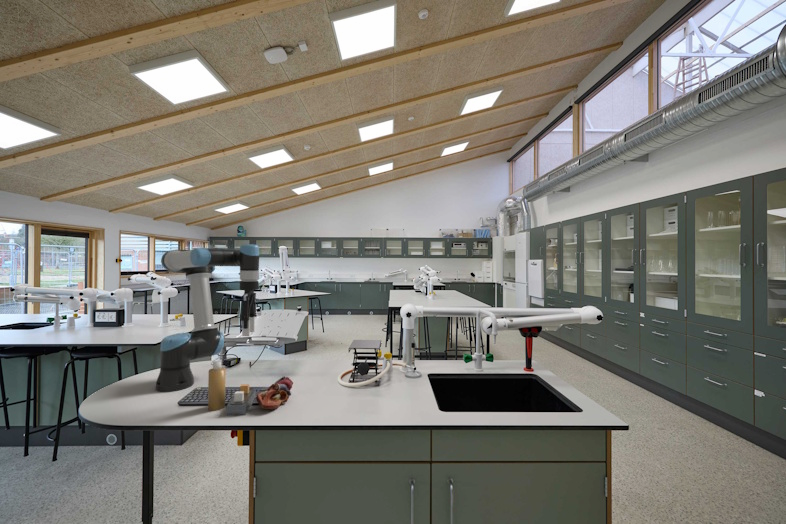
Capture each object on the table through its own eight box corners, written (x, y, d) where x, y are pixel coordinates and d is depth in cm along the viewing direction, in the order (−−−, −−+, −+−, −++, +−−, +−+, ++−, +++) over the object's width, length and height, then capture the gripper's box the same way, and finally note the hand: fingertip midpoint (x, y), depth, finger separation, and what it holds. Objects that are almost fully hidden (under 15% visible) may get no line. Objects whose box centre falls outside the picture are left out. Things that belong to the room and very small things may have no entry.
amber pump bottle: (211, 404, 141) (211, 360, 141) (227, 404, 142) (227, 359, 142) (205, 411, 135) (206, 364, 135) (222, 410, 136) (222, 364, 136)
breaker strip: (242, 393, 153) (242, 384, 153) (259, 392, 154) (259, 384, 154) (226, 415, 131) (226, 405, 131) (245, 414, 132) (245, 404, 132)
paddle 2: (241, 392, 144) (241, 384, 144) (249, 391, 145) (249, 384, 145) (240, 393, 142) (240, 386, 142) (247, 393, 143) (247, 385, 143)
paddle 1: (235, 399, 136) (235, 391, 136) (243, 399, 137) (243, 391, 137) (234, 401, 134) (234, 393, 134) (242, 401, 135) (242, 393, 135)
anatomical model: (250, 398, 133) (277, 365, 140) (255, 403, 144) (279, 372, 152) (273, 415, 132) (298, 381, 139) (276, 418, 143) (299, 386, 150)
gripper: (246, 279, 158) (245, 329, 158) (232, 282, 138) (231, 339, 138) (263, 279, 159) (263, 329, 159) (252, 282, 139) (251, 339, 139)
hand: (248, 334), depth 148 cm, fingers open, 8 cm apart
